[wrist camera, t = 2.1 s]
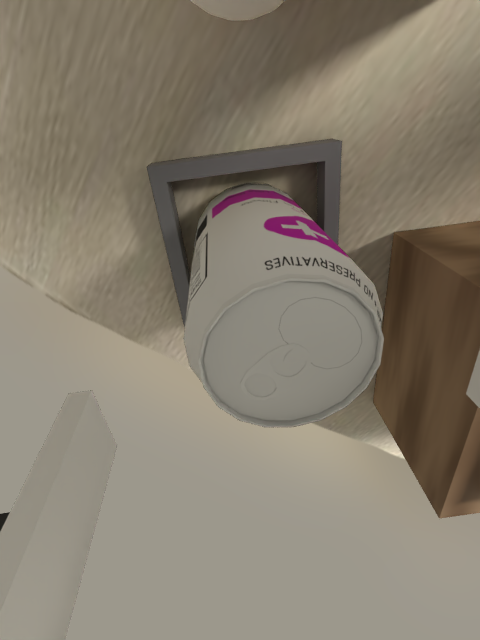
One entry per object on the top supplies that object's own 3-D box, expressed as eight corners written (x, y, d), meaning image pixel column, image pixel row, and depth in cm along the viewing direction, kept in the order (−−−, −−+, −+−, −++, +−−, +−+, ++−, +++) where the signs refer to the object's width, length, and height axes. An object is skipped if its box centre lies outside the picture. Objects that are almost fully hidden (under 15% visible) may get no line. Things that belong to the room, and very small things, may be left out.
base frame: (331, 138, 23) (341, 140, 21) (328, 298, 29) (335, 310, 27) (151, 162, 23) (146, 167, 21) (186, 318, 29) (185, 331, 27)
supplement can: (250, 153, 23) (303, 204, 10) (326, 237, 26) (439, 355, 13) (172, 241, 25) (135, 371, 12) (250, 306, 29) (284, 462, 16)
